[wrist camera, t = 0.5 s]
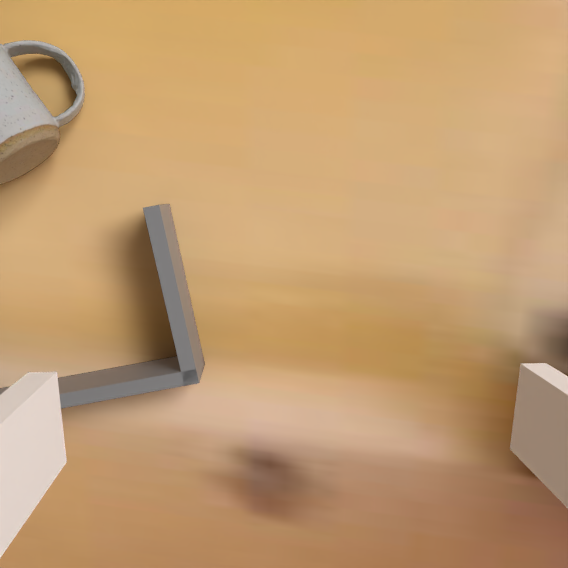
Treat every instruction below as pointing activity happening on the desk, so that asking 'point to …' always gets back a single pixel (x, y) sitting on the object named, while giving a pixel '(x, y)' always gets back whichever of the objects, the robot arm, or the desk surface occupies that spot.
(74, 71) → the ceramic mug
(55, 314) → the desk surface
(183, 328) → the grey c-shaped bracket
